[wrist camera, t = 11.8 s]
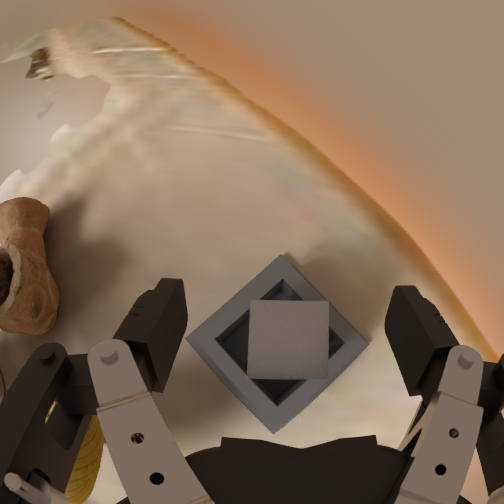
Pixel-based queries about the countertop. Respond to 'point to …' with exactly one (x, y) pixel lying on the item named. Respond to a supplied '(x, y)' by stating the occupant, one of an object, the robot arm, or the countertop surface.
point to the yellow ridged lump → (85, 463)
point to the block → (288, 339)
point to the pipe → (25, 269)
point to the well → (237, 336)
